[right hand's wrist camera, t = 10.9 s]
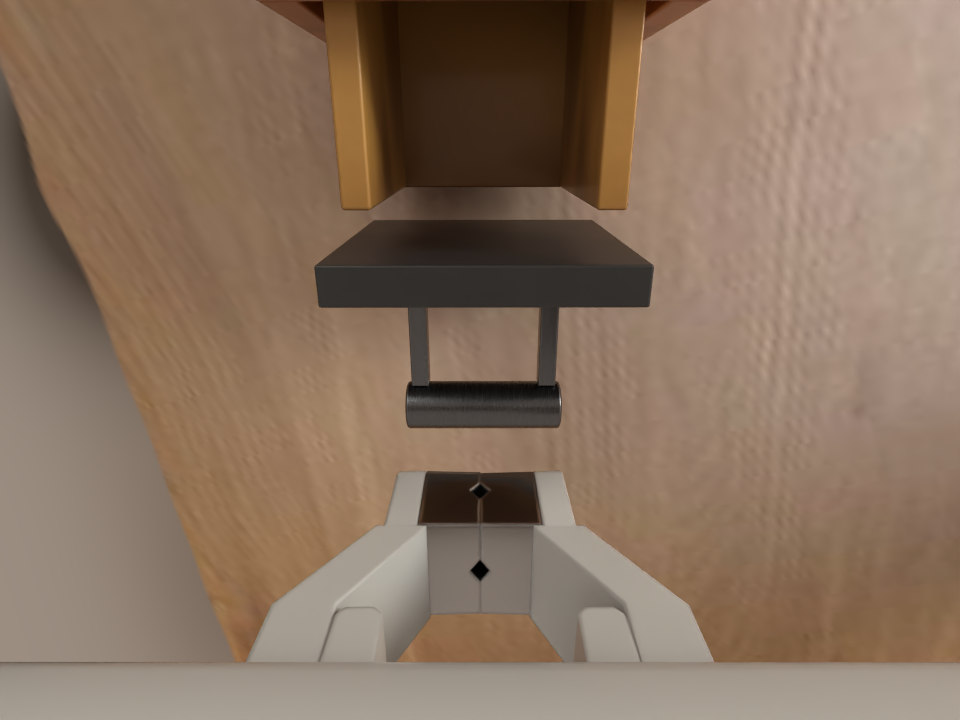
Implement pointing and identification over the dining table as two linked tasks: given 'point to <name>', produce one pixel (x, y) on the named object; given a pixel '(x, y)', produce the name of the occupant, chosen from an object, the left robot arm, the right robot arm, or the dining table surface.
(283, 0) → the cabinet
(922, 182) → the dining table surface
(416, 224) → the drawer
